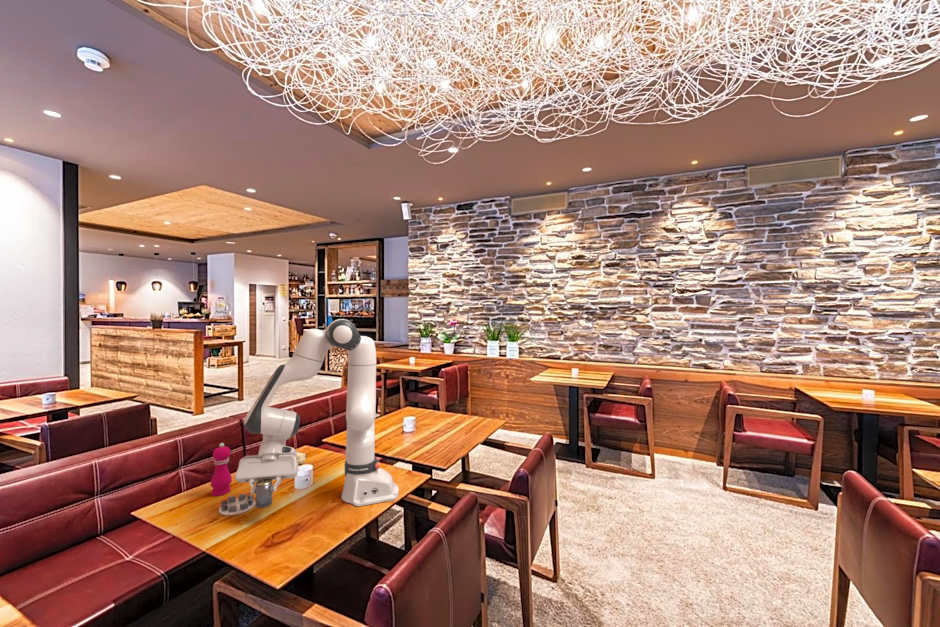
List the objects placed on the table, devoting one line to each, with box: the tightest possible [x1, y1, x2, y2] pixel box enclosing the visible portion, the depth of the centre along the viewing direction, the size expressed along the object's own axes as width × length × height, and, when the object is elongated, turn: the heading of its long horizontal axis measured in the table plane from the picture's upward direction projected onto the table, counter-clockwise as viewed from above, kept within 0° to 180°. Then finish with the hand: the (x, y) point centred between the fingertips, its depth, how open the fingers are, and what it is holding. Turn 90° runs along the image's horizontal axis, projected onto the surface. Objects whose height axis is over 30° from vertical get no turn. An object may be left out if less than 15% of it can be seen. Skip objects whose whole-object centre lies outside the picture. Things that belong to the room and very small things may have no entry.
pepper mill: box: [210, 442, 233, 497], centre depth 155 cm, size 7×7×20 cm
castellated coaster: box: [218, 493, 256, 516], centre depth 144 cm, size 12×12×3 cm
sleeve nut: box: [255, 479, 273, 509], centre depth 134 cm, size 5×5×8 cm
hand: (263, 492), depth 134 cm, fingers closed on sleeve nut, 5 cm apart
